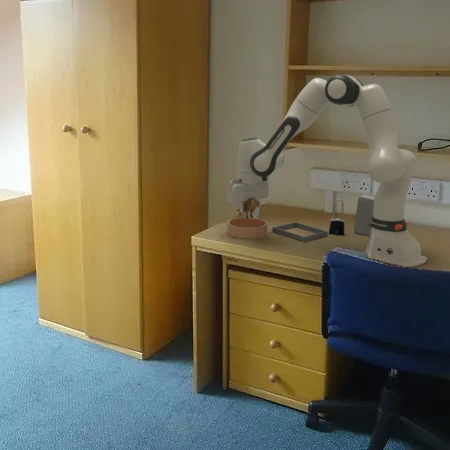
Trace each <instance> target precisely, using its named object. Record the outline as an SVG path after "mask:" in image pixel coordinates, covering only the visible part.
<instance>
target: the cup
mask: <svg viewBox="0 0 450 450" xmlns="http://www.w3.org/2000/svg"><path fill="white" fill-rule="evenodd" d="M258 202H260V203H261V199H258ZM260 205H261V204H260ZM260 205H259V207H257V208H256V209H255V210H254V211H253V213H252V216H253V218H257V219H259V214H260V213H259V212H260ZM243 216H244V217H243V218H246V213H243ZM248 218H250V212H248Z"/></svg>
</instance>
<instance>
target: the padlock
mask: <svg viewBox="0 0 450 450" xmlns="http://www.w3.org/2000/svg"><path fill="white" fill-rule="evenodd" d="M339 201H340V202H341V215H340V218H339V217H338V218H337V217H336V216H335V213H336V212H335V211H336V204H337V202H339ZM344 205H345V204H344V201H343V200H342V199H341V198H337V199H335V200H334V202H333V207H332V208H333V210H332V218H330V220H329V227H328V235H331V234H333V235H332V236H346V233H345V232H346V231H345V230H346V228H345V227H346V225H345V224H346V221H345V219H344V207H345V206H344ZM335 217H336V218H335Z"/></svg>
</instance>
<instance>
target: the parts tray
mask: <svg viewBox="0 0 450 450" xmlns="http://www.w3.org/2000/svg"><path fill="white" fill-rule="evenodd" d="M271 227H272V226H271ZM293 228H297V229H301V230H304V231H307V232H311V233H313V234H310V235H305V236H304V235H300V234H297V233H293V232H290V231H287V230H288V229H293ZM271 232H273V233H275V234H278V235H282V236H283V237H288V238H290V239H294V240H297V241H299V242H303V243H305V242H310V241H313V240H318V239H321V238H326V237H328V235H329V234H328V233H329V230H324V229H320V228H317V227H315V226H310V225H307V224H305V223H304V224H303V223H300V222H297V221H294V222H290V223H285V224H280V225H276V226H273V227H272V228H271ZM325 236H326V237H325Z"/></svg>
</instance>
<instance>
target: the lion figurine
mask: <svg viewBox="0 0 450 450" xmlns="http://www.w3.org/2000/svg"><path fill="white" fill-rule="evenodd" d="M242 205H243V207H244V208H245V212H240V208H239V209H237V210H236V212H239V213H238V216H242V214H244V213H246V219H248V212H250V218H253V216H252V213H253V211H254V210H255V209H256V208H257V207H259V208H260V206H259V205H261V201H260V202H258V201H257V198H254V197H253V198H250V199H249V200H248V201H245V202H244V204H242Z"/></svg>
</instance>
